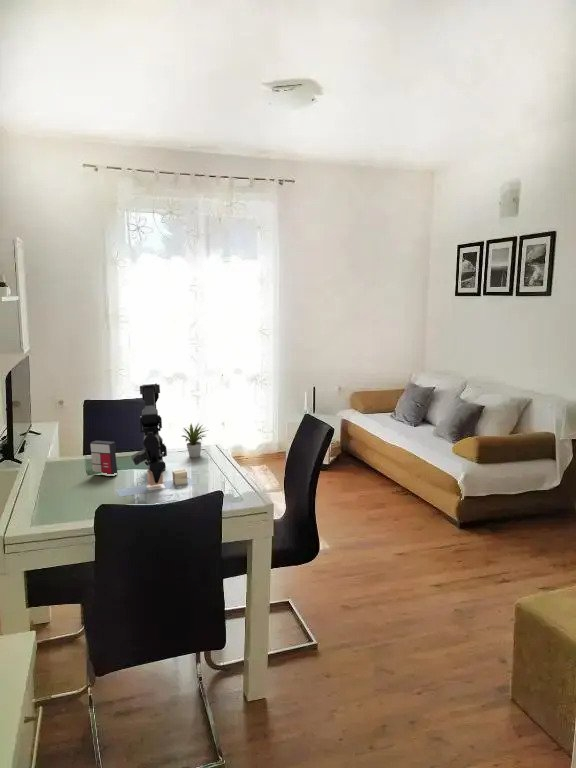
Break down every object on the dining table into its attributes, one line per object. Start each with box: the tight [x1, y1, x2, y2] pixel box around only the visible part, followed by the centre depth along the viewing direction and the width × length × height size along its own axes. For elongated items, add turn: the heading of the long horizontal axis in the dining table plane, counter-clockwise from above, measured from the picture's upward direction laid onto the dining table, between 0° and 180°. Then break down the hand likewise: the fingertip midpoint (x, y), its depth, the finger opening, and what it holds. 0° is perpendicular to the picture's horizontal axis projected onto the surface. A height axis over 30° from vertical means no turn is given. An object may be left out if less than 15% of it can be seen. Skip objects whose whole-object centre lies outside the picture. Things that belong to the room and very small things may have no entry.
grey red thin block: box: [89, 440, 118, 474], centre depth 256 cm, size 11×4×15 cm, turn 68°
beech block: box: [171, 468, 188, 485], centre depth 240 cm, size 5×5×5 cm
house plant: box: [181, 423, 210, 458], centre depth 279 cm, size 14×14×16 cm
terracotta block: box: [147, 469, 164, 486], centre depth 236 cm, size 5×5×5 cm
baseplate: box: [116, 477, 196, 498], centre depth 236 cm, size 10×30×1 cm, turn 112°
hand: (155, 481), depth 236 cm, fingers closed on terracotta block, 5 cm apart
